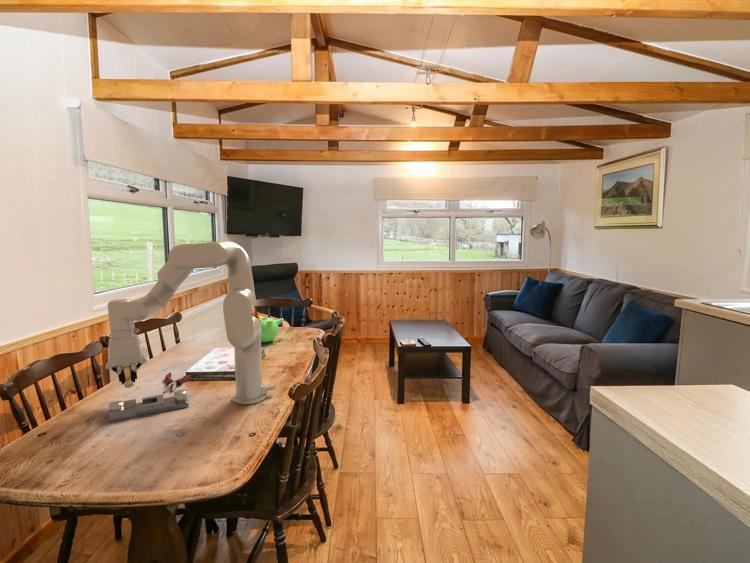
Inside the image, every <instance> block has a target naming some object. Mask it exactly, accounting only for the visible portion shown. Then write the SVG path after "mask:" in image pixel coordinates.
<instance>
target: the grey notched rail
mask: <svg viewBox="0 0 750 563" xmlns="http://www.w3.org/2000/svg"><path fill="white" fill-rule="evenodd" d="M141 399H142V400H141V401H142V402H137V399H136V398H134V399H130V400H129V399H128V400H124V401H123V400H115V401H111V402H110V403H108V420H109V423H113V422H112V421H114V422H117V420H119V421H123V420H122V419H124V420H128V419H127V418H129V419H133V418H132V417H134V418H137V417H138V416H139V417H143V416H144V415H145V416H150V415H154V414H153V413H155V414H160V413H164V412H169V411H170V410H171V411H175V410H180V408H181V409H185V407H186V408H189V406H190V405H189V397H188V390H187V389H178V390H174V392H173V396H170V397H165V398H164V394H159V395H158V394H157V395H151V396H145V397H142V398H141ZM159 412H160V413H159ZM149 414H150V415H149ZM139 417H138V418H139Z"/></svg>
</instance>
